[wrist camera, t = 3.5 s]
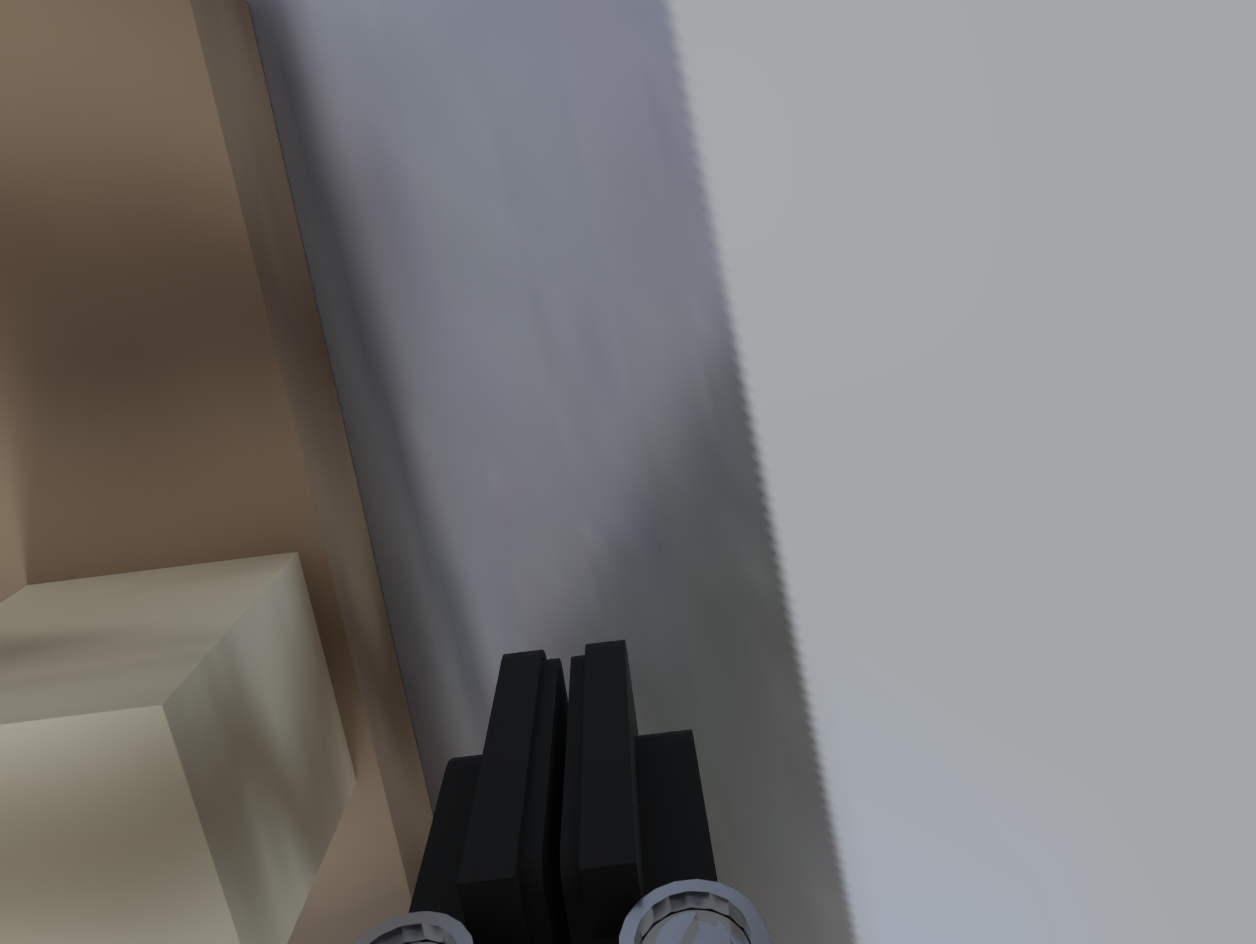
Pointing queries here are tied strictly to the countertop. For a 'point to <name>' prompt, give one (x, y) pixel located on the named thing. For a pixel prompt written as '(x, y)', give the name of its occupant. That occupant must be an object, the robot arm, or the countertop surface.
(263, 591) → the maple block
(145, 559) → the trap board
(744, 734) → the countertop surface
